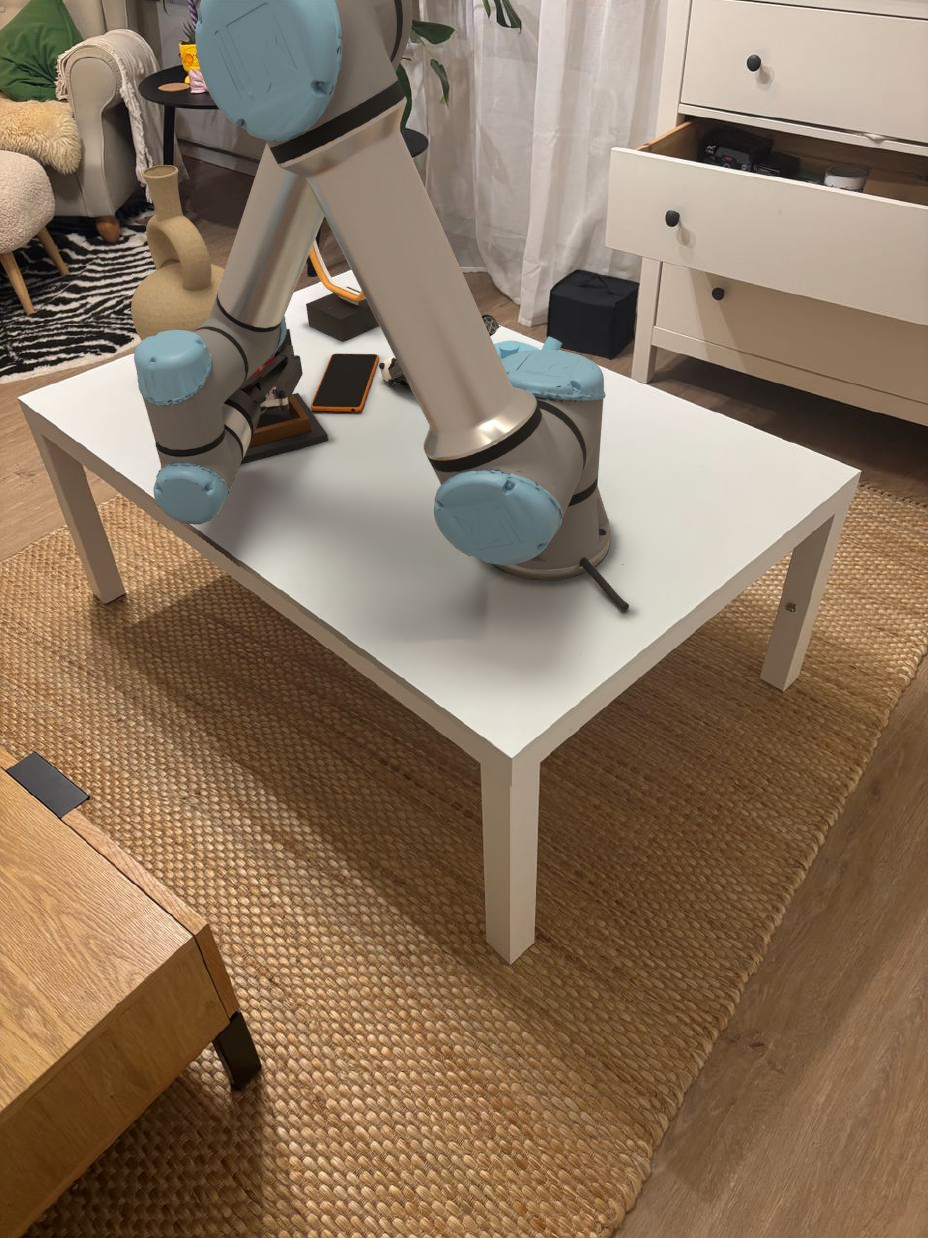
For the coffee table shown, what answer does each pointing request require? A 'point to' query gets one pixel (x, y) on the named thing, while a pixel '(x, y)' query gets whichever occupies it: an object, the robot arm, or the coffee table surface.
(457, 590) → the coffee table surface
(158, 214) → the vase
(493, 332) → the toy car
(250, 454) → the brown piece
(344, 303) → the lamp
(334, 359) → the smartphone
